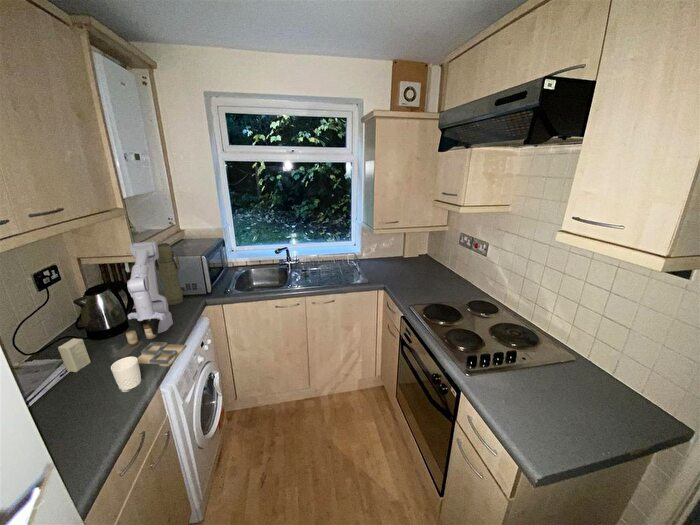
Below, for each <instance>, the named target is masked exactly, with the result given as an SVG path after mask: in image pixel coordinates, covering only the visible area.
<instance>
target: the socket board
mask: <svg viewBox="0 0 700 525" xmlns="http://www.w3.org/2000/svg"><path fill="white" fill-rule="evenodd" d="M186 348H187V345H186V344H172V343H170V344H168V342H167V341H166V342H165V341H150V343H149V344H148V345H147V346H145V347H144V348H143V349H142V350H141V351H140V353H141V355H139V356H138V357H136V358H137V359H138V364H143V365H144V364H149V365H150V364H151V365H158V367H170V365H171V364H172V363H173V362H174V361H175V360H176V359H177V358H178V357H179V355H181V354H182V353H183V351H184V350H185V349H186Z"/></svg>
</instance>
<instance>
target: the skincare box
mask: <svg viewBox="0 0 700 525" xmlns="http://www.w3.org/2000/svg"><path fill="white" fill-rule="evenodd" d="M57 348H58V349H57V350H58V352H59V354H60V357H61V359H62V362H63V365H64V366H65V370H66V371H67V372H73V373H77V372H78V371H80V370H82V369H83V368H84V367H86V366H87V365H89V364H91V361H92V360H91V359H90V356H89V354H88V351H87V348H86V345H85V342H84V339H83V338H74V337H73V338H72V339H70V340H68V341H67V342H64V343H62V345H60V346H57Z"/></svg>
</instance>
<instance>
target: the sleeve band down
mask: <svg viewBox="0 0 700 525" xmlns="http://www.w3.org/2000/svg"><path fill="white" fill-rule="evenodd" d="M125 337H126V340H127V344H129V346H130V347H132V346H136V345H138V344H139V341H140V340H139V339H138V334H137V332H136V330H134V329H133V330H129V331H127V332H125Z"/></svg>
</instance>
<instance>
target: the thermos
mask: <svg viewBox="0 0 700 525" xmlns="http://www.w3.org/2000/svg"><path fill="white" fill-rule="evenodd" d="M157 246H158V252H159V258H158V259H156V260H155V270H156V272H159V275H160V278H161V280H162V281H161V282H162V284H163V289H164V295H163V296H165V297H166V299H167V303H168V306H176V305H179V304H182V303H183V302H184V296H183V295H184V294H183V290H182V288H181V285H180V280H179V270H180V261H179V257H178V253H177V252H176V251H173V248H172V246H171V244H170V243H167V242H163V243H159V244H157ZM174 256H175V257H174Z"/></svg>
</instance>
